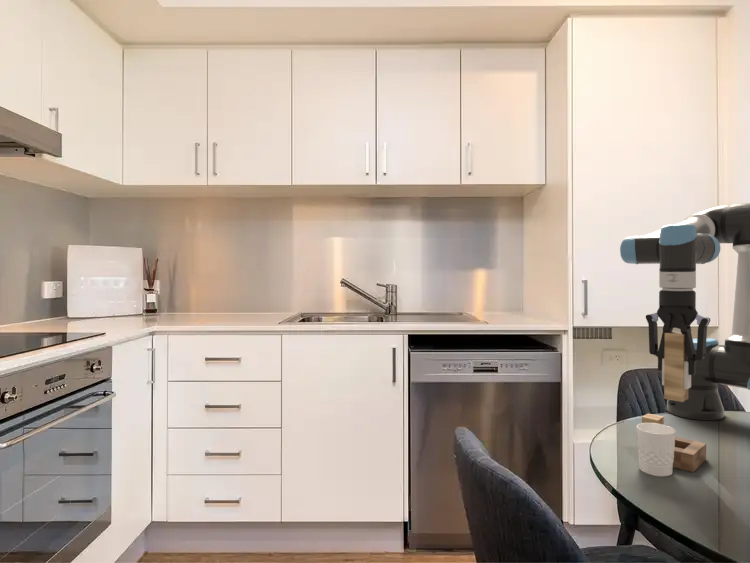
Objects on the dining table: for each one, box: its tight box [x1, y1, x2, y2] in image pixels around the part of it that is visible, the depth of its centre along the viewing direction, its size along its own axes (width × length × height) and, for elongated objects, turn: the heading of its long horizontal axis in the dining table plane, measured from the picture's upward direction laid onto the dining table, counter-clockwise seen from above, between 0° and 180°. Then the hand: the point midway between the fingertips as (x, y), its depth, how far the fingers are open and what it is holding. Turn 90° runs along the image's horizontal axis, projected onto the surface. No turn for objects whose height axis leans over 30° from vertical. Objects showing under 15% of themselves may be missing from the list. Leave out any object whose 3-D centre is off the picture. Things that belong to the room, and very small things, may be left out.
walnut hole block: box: [673, 436, 707, 473], centre depth 122 cm, size 10×10×4 cm
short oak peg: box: [641, 413, 665, 425], centre depth 134 cm, size 4×4×7 cm
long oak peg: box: [663, 330, 688, 402], centre depth 121 cm, size 4×4×16 cm
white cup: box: [636, 422, 676, 477], centre depth 117 cm, size 8×8×10 cm
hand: (676, 385), depth 122 cm, fingers closed on long oak peg, 4 cm apart
